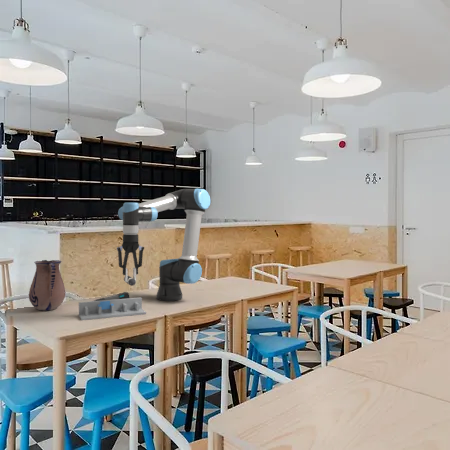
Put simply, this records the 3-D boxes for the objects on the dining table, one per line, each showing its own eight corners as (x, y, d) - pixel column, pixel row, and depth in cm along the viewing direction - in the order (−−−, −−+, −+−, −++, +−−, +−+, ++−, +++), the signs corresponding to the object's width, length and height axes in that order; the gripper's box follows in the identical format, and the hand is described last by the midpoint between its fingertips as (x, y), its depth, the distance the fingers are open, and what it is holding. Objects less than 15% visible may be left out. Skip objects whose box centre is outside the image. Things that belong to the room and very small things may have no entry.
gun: (133, 305, 241) (126, 288, 240) (97, 320, 234) (90, 303, 233) (131, 303, 246) (125, 286, 244) (96, 318, 238) (89, 301, 237)
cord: (123, 282, 225) (124, 275, 225) (130, 282, 226) (131, 275, 226) (128, 285, 216) (128, 278, 216) (135, 285, 217) (135, 278, 217)
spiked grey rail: (141, 309, 232) (141, 297, 231) (146, 314, 223) (146, 301, 222) (78, 315, 218) (78, 302, 218) (81, 320, 209) (81, 306, 209)
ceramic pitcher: (56, 303, 244) (56, 258, 243) (74, 310, 229) (74, 261, 228) (23, 308, 232) (23, 260, 231) (40, 315, 217) (39, 264, 216)
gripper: (145, 233, 226) (144, 279, 226) (112, 233, 219) (111, 281, 219) (149, 234, 219) (148, 281, 220) (115, 234, 212) (114, 283, 213)
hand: (130, 281), depth 220 cm, fingers closed on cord, 3 cm apart
